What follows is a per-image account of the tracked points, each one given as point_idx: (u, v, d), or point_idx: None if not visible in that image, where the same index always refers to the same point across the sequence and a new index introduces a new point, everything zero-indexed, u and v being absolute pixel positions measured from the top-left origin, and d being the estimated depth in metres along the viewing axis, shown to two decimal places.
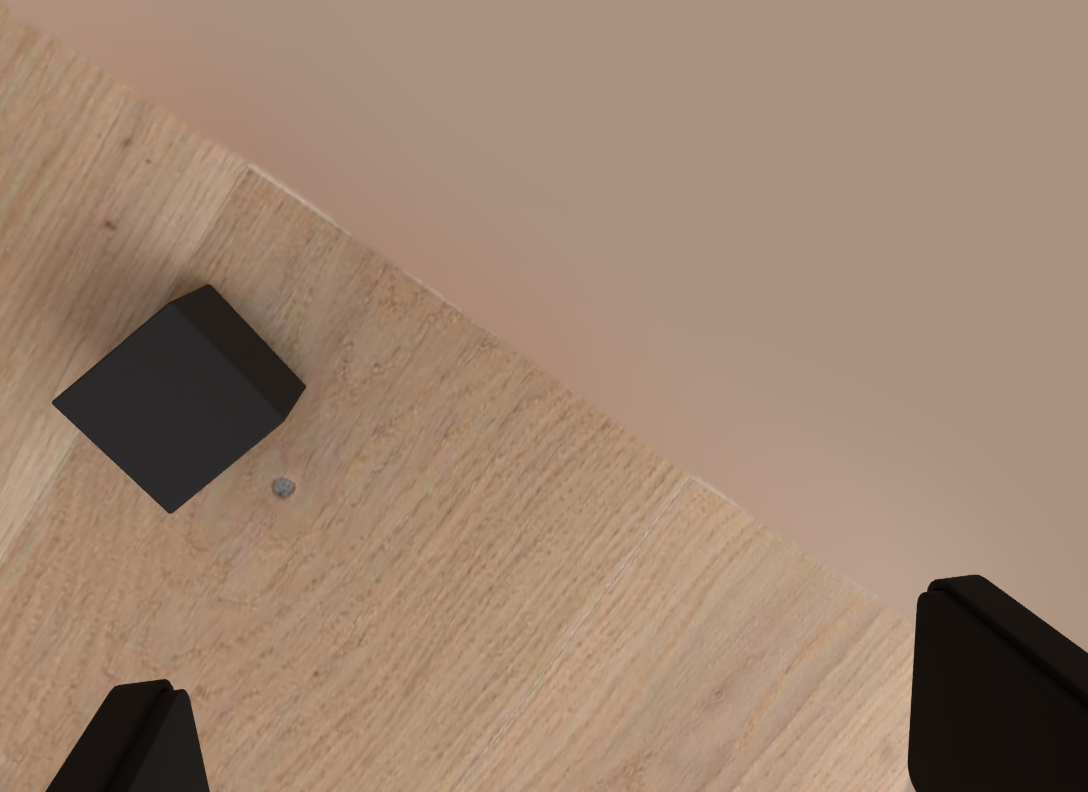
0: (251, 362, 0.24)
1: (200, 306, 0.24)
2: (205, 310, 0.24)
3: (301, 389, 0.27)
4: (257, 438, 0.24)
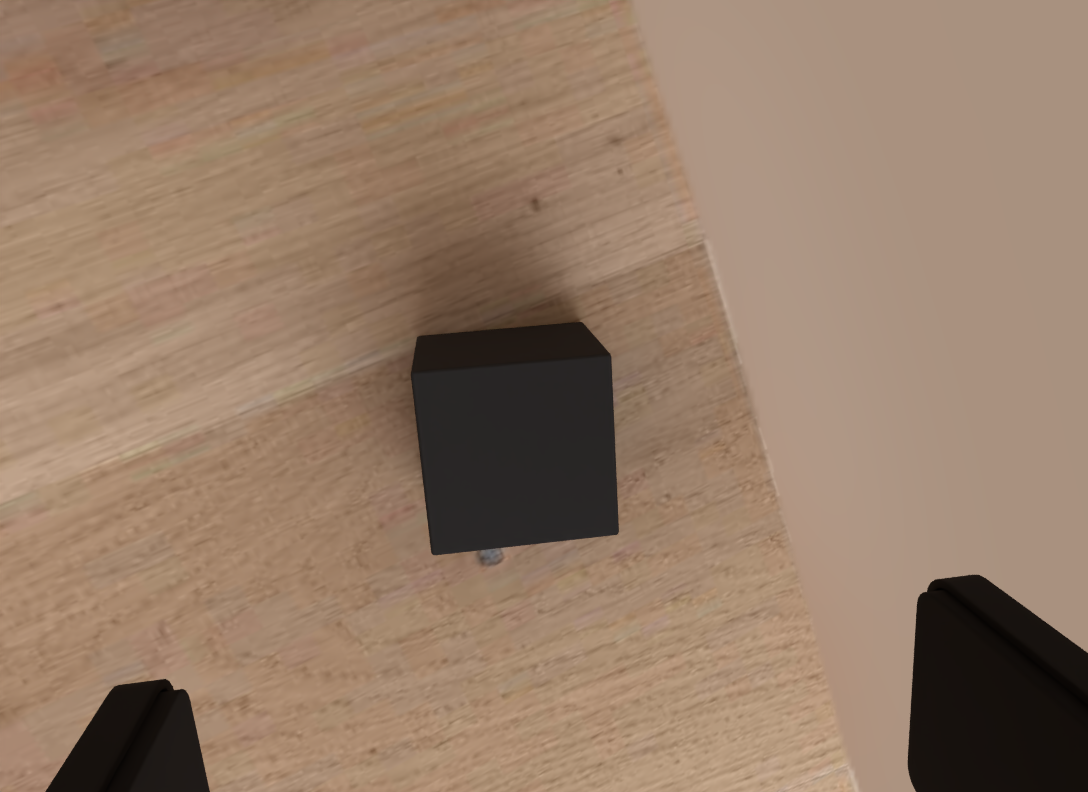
0: None
1: None
2: None
3: None
4: (578, 535, 0.19)
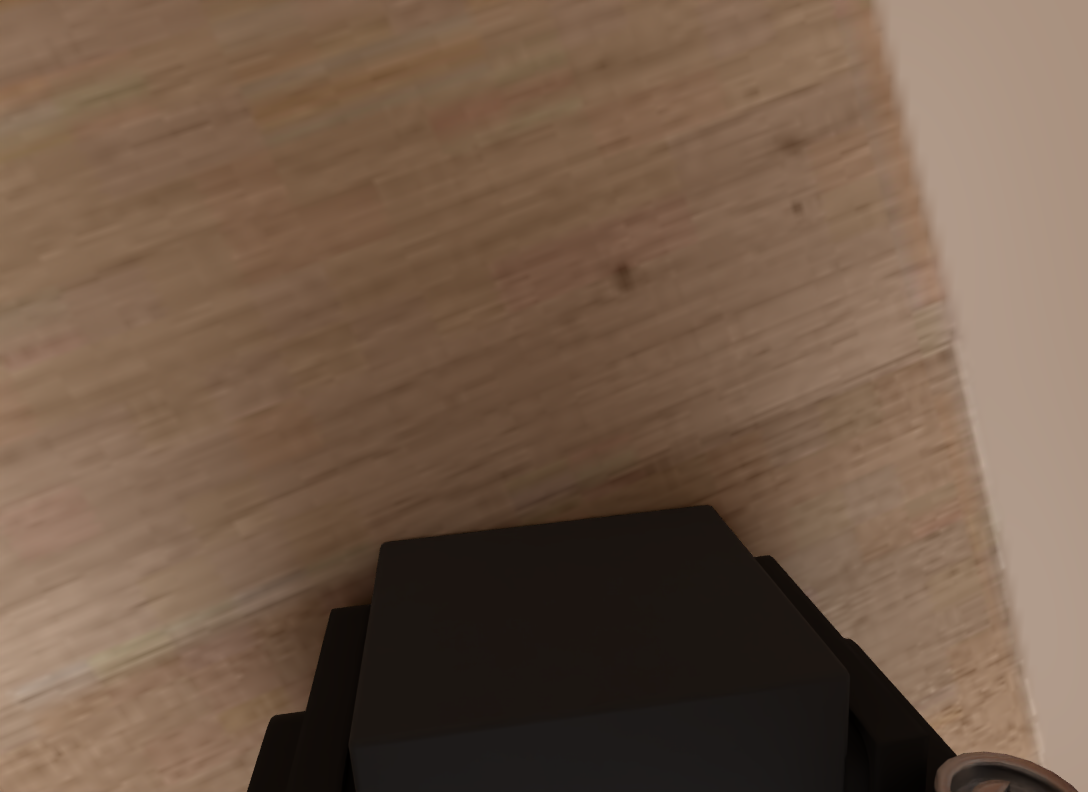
0: None
1: None
2: None
3: None
4: None
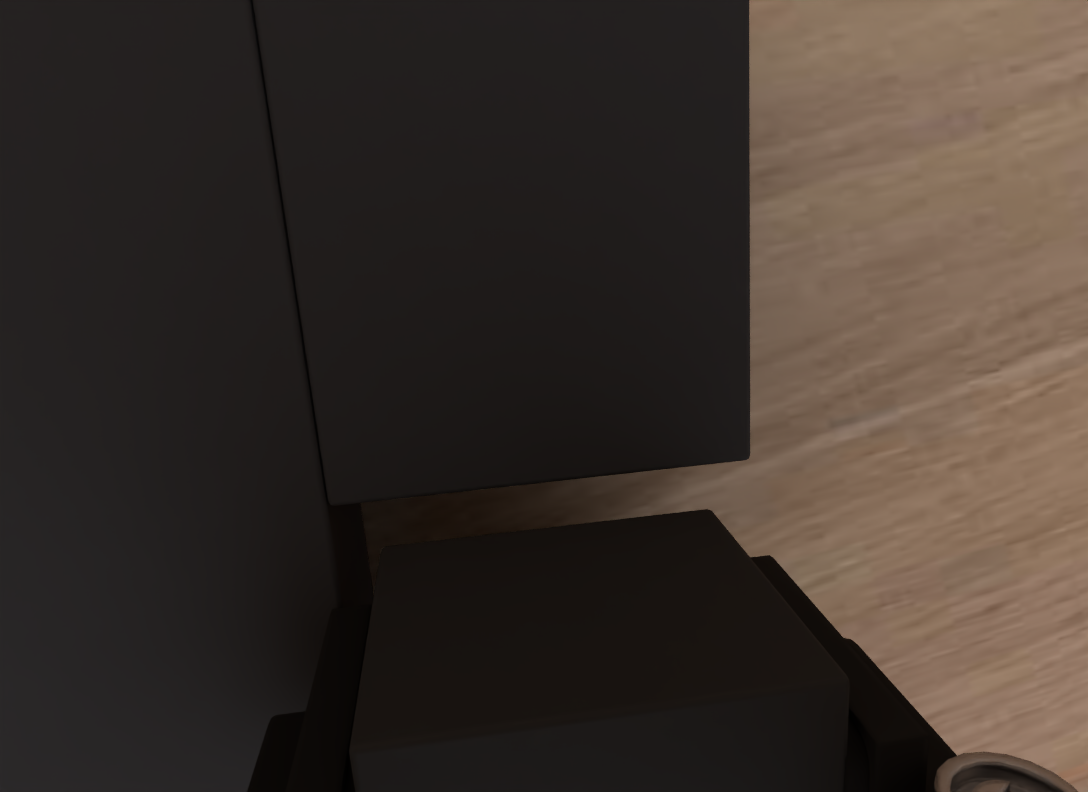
0: None
1: None
2: None
3: None
4: None
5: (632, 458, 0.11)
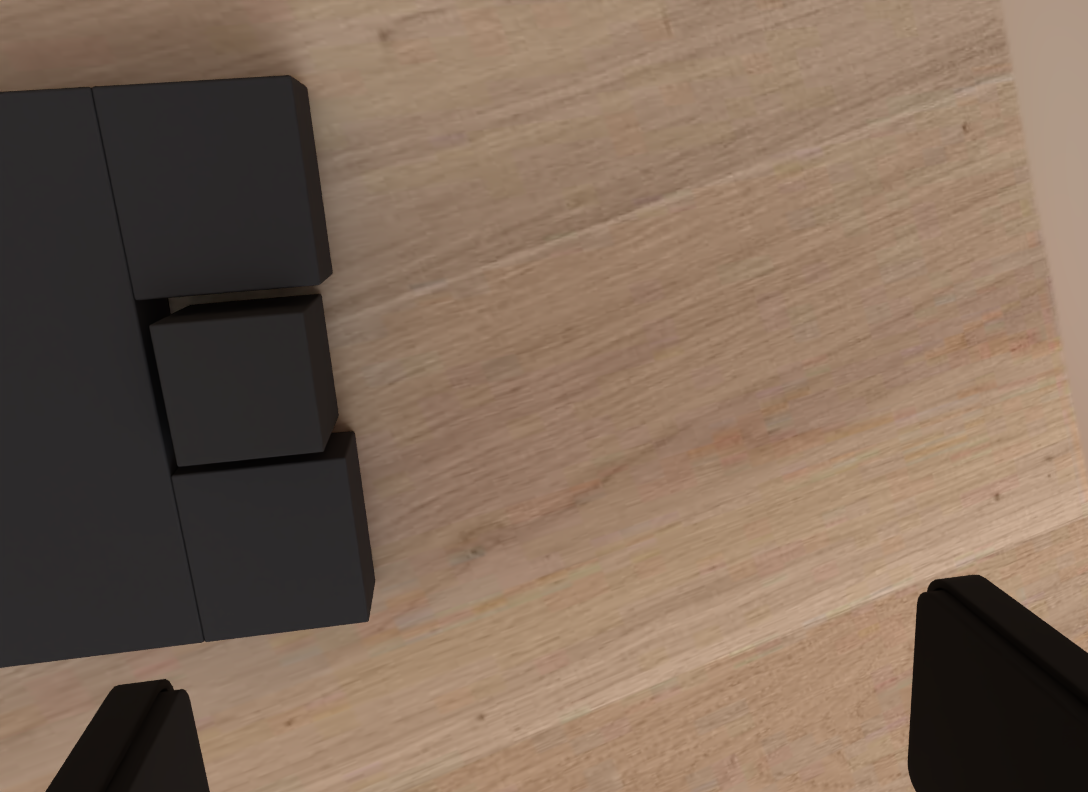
0: (322, 385, 0.27)
1: (313, 319, 0.26)
2: (314, 324, 0.26)
3: (336, 419, 0.29)
4: (291, 452, 0.26)
5: (266, 282, 0.25)
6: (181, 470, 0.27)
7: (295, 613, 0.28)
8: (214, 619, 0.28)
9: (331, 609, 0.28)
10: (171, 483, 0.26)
